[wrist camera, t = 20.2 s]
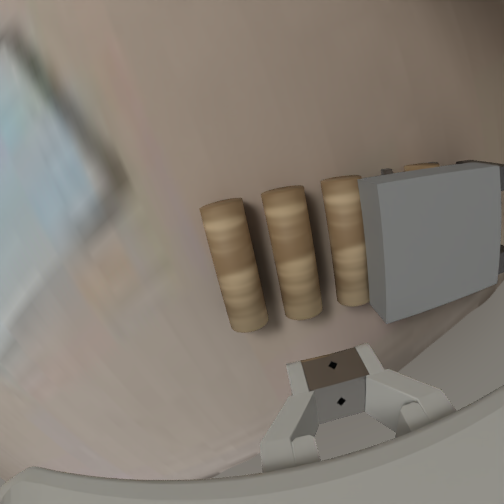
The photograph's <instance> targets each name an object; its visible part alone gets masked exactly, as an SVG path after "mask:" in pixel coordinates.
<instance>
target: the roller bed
mask: <svg viewBox="0 0 504 504" xmlns="http://www.w3.org/2000/svg"><path fill="white" fill-rule="evenodd" d="M429 163H436V164H438V163H437V162H429ZM381 174H382V175H387V174H393V173H392V169H381ZM357 179H362V178H361V176H359V175H350V176H340V177H334V178H329V179H325V180H322V181H321V188H322V193H323V199H324V206H325V212H326V218H327V225H328V231H329V238H330V245H331V253H332V260H333V268H334V276H335V285H336V294H337V301H338V302H339V303H340V304H342V305H345V306H360V305H364V304H366V303H368V302H370V298H369V281H368V268H367V256H366V245H365V235H364V226H363V218H362V210H361V202H360V195H359V188H358V181H357ZM261 197H262V201H263V206H264V211H265V216H266V221H267V225H268V230H269V235H270V240H271V245H272V250H273V255H274V260H275V265H276V270H277V275H278V280H279V285H280V290H281V295H282V300H283V305H284V310H285V315H286V316H287V317H288V318H290V319H293V320H306V319H310V318H313V317H315V316H317V315H318V314H319V313H320V312H321V311H322V308H323V307H322V299H321V292H320V285H319V278H318V271H317V264H316V257H315V251H314V244H313V238H312V232H311V226H310V220H309V214H308V208H307V203H306V197H305V192H304V186H288V187H282V188H277V189H273V190H269V191H266V192H264V193H262V194H261ZM200 212H201V216H202V220H203V224H204V228H205V232H206V236H207V240H208V244H209V248H210V251H211V255H212V259H213V263H214V266H215V270H216V274H217V278H218V281H219V285H220V289H221V292H222V296H223V299H224V303H225V306H226V310H227V314H228V317H229V321H230V324H231V327H232V329H233V330H234V331H237V332H242V333H246V332H252V331H256V330H258V329H260V328H262V327H263V326H265V325H266V324H267V322H268V320H269V318H268V313H267V309H266V304H265V300H264V295H263V291H262V286H261V282H260V277H259V273H258V268H257V264H256V259H255V255H254V250H253V246H252V241H251V237H250V232H249V228H248V223H247V219H246V215H245V210H244V206H243V201H242V198H233V199H227V200H222V201H218V202H214V203H211V204H208V205H205V206H203V207H201V208H200Z"/></svg>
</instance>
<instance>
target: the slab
mask: <svg viewBox="0 0 504 504" xmlns="http://www.w3.org/2000/svg"><path fill="white" fill-rule="evenodd" d="M357 181H358V188H359V195H360V202H361V210H362V218H363V226H364V235H365V245H366V256H367V268H368V281H369V298H370V305H371V306H372V307H373V308H374V310H375V311H376V312H377V313H378V314H379V316H380V317H381V318H382V319H383V320H384V322H385V323H386V324H388V323H391V322H394V321H397V320H401V319H404V318H407V317H410V316H413V315H416V314H418V313H421V312H424V311H427V310H430V309H433V308H435V307H438V306H441V305H444V304H446V303H449V302H452V301H454V300H457V299H460V298H462V297H465V296H467V295H470V294H472V293H475V292H477V291H480V290H482V289H484V288H487V287H489V286H491V285H494V284H496V283H497V279H498V269H499V257H500V241H501V185H500V168H499V166H498V165H491V164H484V163H476V162H471V163H463V164H455V165H447V166H440V167H433V168H426V169H419V170H412V171H406V172H399V173H393V174H387V175H381V176H375V177H369V178H363V179H357Z"/></svg>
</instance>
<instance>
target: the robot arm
mask: <svg viewBox="0 0 504 504" xmlns="http://www.w3.org/2000/svg"><path fill="white" fill-rule="evenodd" d="M286 367H287V372H288V377H289V382H290V387H291V392H292V396H289V397H288V399H287V400H286V402H285V404H284V406H283V407H282V409H281V411H280V412H279V414H278V415H277V417H276V419H275V420H274V422H273V424H272V425H271V427H270V428H269V430H268V432H267V433H266V435H265V436H264V438H263V440H262V441H261V443H260V450H261V460H262V471H263V473H258V474H250V475H242V476H233V477H223V478H211V479H194V480H133V479H117V478H105V477H96V476H87V475H80V474H73V473H67V472H61V471H55V470H50V469H46V468H42V467H35V466H33V467H29V468H27V469H25V470H23V471H22V472H20V473H18V474H17V475H15V476H14V477H13V478H11V479H10V480H8V481H7V482H5V483H4V484H3V485H2V486H1V487H0V504H504V385H503V386H501V387H499V388H498V389H496V390H494V391H493V392H491V393H489V394H488V395H486V396H484V397H482V398H481V399H479V400H477V401H475V402H474V403H472V404H470V405H468V406H466V407H464V408H462V409H460V410H458V411H456V409H455V408H454V407H453V405H452V404H451V402H450V401H449V399H448V398H447V397H446V395H445V394H444V392H443V391H442V390H441V389H439V388H436V387H433V386H431V385H428V384H426V383H423V382H420V381H418V380H416V379H413V378H410V377H408V376H405V375H403V374H400V373H398V372H396V371H393V370H391V369H386V370H385V369H384V368H383V366H382V364H381V363H380V361H379V359H378V358H377V356H376V355H375V353H374V351H373V350H372V348H371V347H370V345H369V344H368V343H365V344H362V345H358V346H355V347H354V348H349V349H346V350H342V351H339V352H335V353H332V354H328V355H324V356H319V357H315V358H311V359H306V360H301V362H300V361H298V362H293V363H288V364H286ZM361 412H365V413H367V414H368V415H370V416H371V417H373V418H374V419H376V420H377V421H379V422H380V423H382V424H383V425H385V426H387V427H388V428H390V429H391V430H393V431H394V432H396V436H395V438H394V439H392V440H389V441H386V442H383V443H380V444H377V445H374V446H371V447H368V448H365V449H362V450H359V451H356V452H352V453H349V454H346V455H342V456H338V457H335V458H331V459H327V460H323V461H321V459H320V456H319V452H318V448H317V445H316V441H315V434H316V432H317V429H318V427H319V424H322V423H326V422H329V421H332V420H336V419H339V418H343V417H347V416H350V415H354V414H358V413H361Z"/></svg>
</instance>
